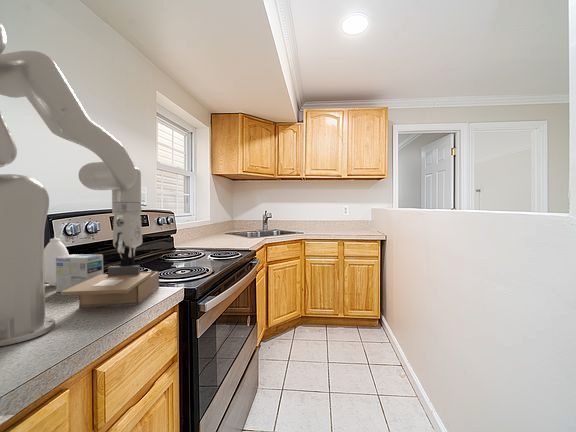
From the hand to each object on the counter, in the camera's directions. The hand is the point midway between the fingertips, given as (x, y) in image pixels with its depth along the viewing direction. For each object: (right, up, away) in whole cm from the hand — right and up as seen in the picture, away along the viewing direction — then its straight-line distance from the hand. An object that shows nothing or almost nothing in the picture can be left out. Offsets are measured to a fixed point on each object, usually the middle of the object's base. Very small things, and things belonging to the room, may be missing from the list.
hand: (127, 270), depth 86 cm
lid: (+1, -2, -10) cm, 10 cm away
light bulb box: (-17, -7, +4) cm, 18 cm away
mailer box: (0, -7, -3) cm, 7 cm away
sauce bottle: (-29, -7, +9) cm, 31 cm away
